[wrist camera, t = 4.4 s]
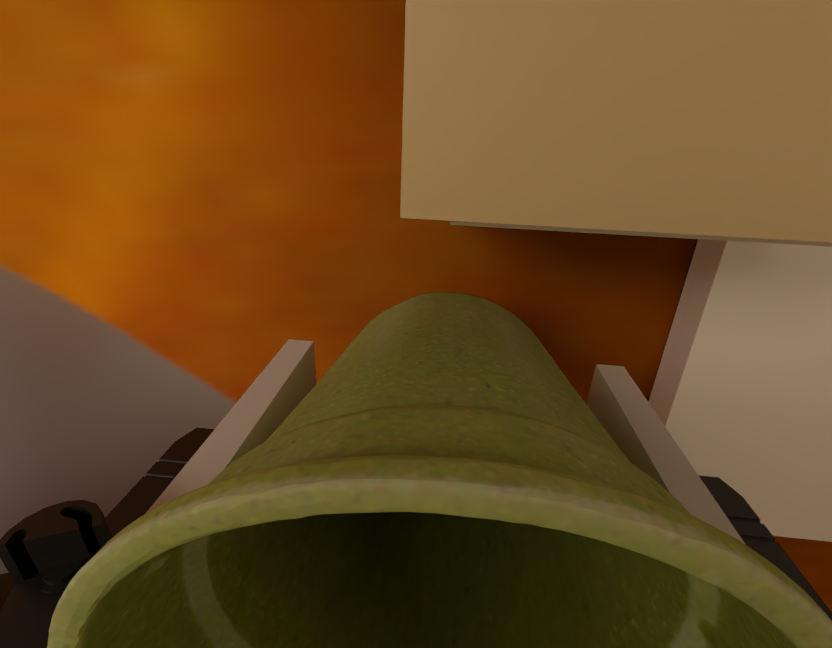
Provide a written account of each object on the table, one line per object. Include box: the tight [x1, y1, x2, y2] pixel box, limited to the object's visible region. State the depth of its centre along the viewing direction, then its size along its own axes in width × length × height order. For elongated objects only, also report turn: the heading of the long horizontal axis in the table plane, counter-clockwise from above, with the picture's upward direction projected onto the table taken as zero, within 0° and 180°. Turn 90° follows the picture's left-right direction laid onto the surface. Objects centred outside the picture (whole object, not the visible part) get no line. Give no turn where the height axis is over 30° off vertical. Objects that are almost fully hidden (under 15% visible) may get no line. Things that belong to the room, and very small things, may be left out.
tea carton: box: [400, 0, 832, 247], centre depth 9 cm, size 5×8×8 cm, turn 88°
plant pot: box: [47, 293, 832, 648], centre depth 9 cm, size 9×9×9 cm
